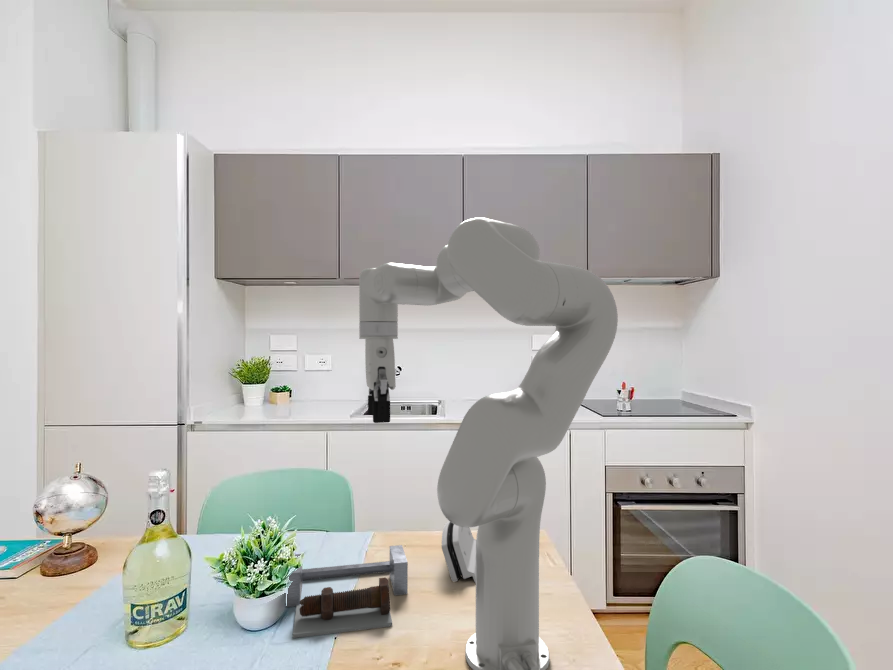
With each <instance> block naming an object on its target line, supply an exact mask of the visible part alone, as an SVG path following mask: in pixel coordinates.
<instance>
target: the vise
mask: <svg viewBox="0 0 893 670" xmlns="http://www.w3.org/2000/svg"><path fill="white" fill-rule="evenodd" d="M301 554H302V553H298V554H296V553H295V556H297V557H298V556H300V555H301ZM408 568H409V566H408V559H407V556H406V552H405V549H404V548H403V545H402V544H399V545H390V546H389V560H388V561H379V562H378V561H377V562H367V563H355V564H344V565H337V566H336V565H335V566H333V565H332V566H324V567H313V568H312V567H311V568H303V565H302V566H301V567H300V568H298V569H297V570H296V571H294V572H293V573H292V574H291V575H290V576H289V580H290V581H293V582H292V583H291V585H290V586H289V588H288V594H287V607H286V608H293V607H296V606H297V605H300V600H302V591H303V590H302V589H303V581H310V580H311V579H312V580H319V578H322V579H330V578H340V577H352V576H361V575H373V574H382V573H383V574H384V573H389V579H390V582H391V583H390V584H391V588H392V592H393V595H394V596H403V595H408V586H409V585H408V582H409V581H408V580H409V579H408V577H409V575H408V570H409V569H408ZM308 579H309V580H308Z"/></svg>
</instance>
